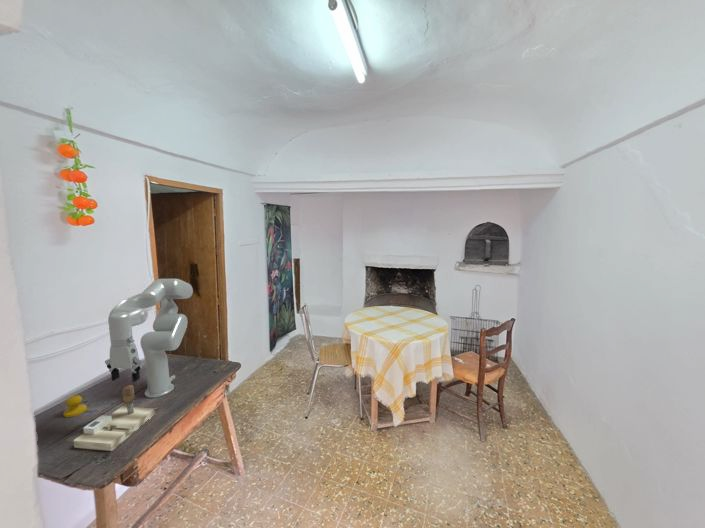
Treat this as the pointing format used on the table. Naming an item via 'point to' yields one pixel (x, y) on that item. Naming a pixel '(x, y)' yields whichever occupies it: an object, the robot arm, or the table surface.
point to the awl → (128, 397)
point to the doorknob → (74, 406)
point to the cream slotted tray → (115, 429)
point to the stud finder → (97, 424)
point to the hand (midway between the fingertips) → (126, 379)
